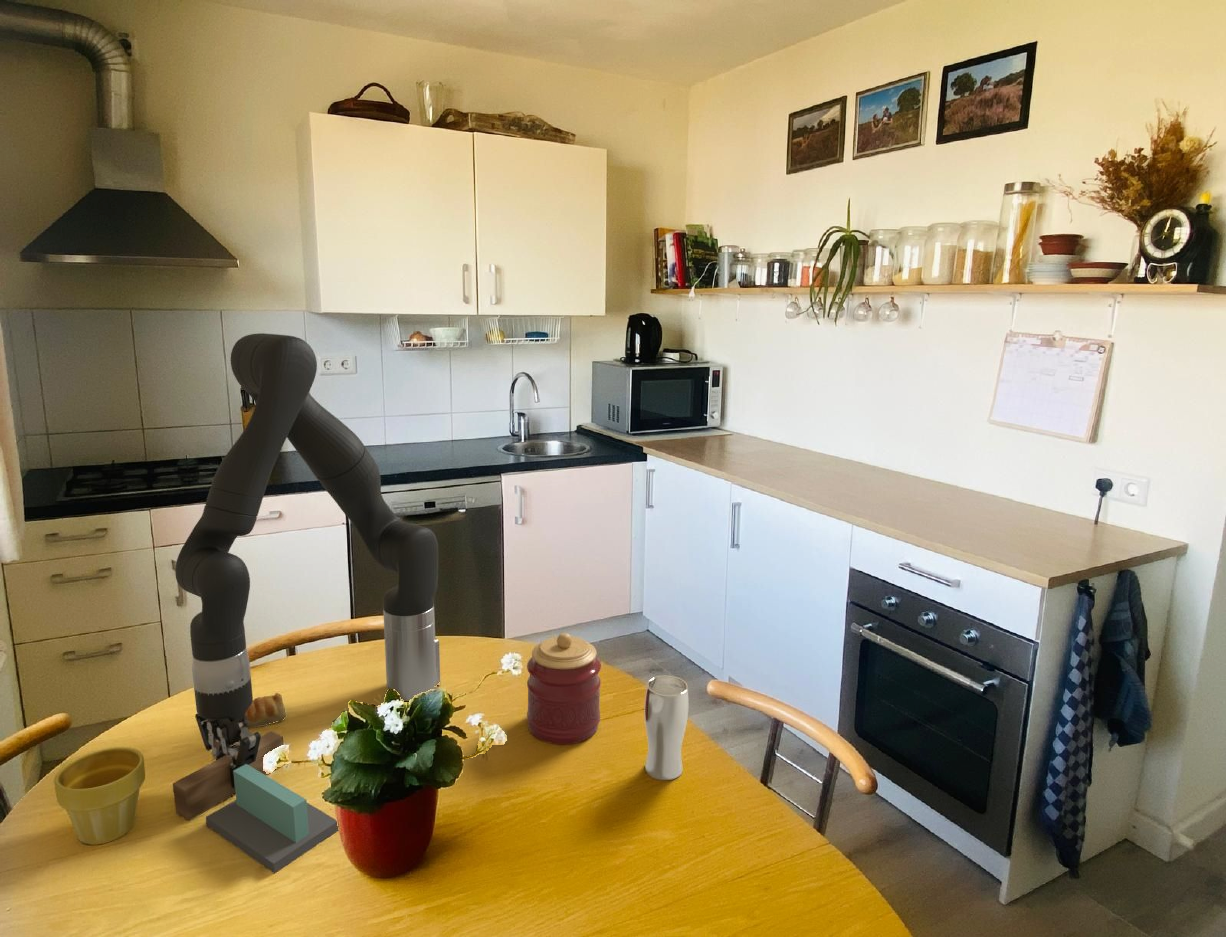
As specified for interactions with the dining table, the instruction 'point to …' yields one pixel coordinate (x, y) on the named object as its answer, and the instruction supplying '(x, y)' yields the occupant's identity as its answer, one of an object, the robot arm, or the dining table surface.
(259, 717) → the pastry
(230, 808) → the ridge stand
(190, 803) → the walnut beam
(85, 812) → the plant pot
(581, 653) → the canister
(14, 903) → the dining table surface
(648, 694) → the beer glass
